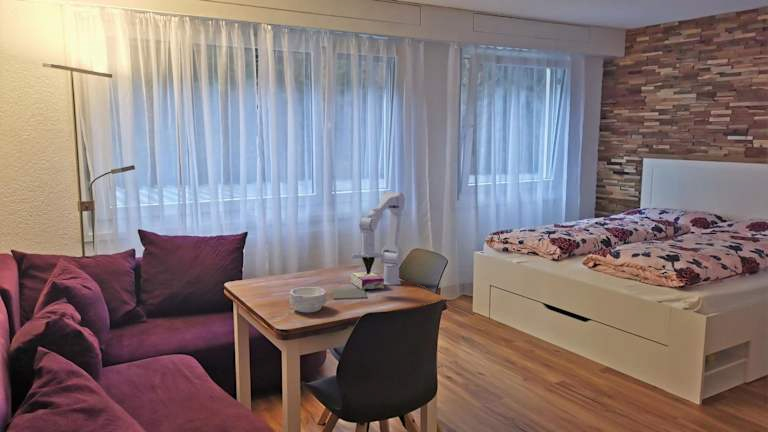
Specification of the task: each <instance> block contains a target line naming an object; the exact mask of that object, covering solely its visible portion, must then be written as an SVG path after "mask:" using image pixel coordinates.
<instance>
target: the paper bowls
mask: <svg viewBox="0 0 768 432" xmlns="http://www.w3.org/2000/svg"><path fill="white" fill-rule="evenodd" d="M327 293H328V292H327V290H326V289H325V288H323V287H316V286H303V287H302V286H301V287H296V288H293V289H290V291H289V304H290V305H291V306H292V307H294V308H295V311H297V312H299V313H305V314H307V313H315V312H318V311H320V310H321V309H322V307H323V306H324V305H326V303H327V296H328V294H327Z"/></svg>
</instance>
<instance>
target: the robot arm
mask: <svg viewBox="0 0 768 432" xmlns="http://www.w3.org/2000/svg"><path fill="white" fill-rule="evenodd" d="M405 202H406V197H405V195H404V193H403V192H389V191H383V193H382V194H381V197H380V202H379V203H378V205H377V206H376V207H373V208H372V209H371V210H370V211H369V213H368V214H366V216H365V217H364V216H363V217H362V218H361V219H360V221H359V224H358V225H359V226H358V227H359V230H360V234H361V252H360V253H352V254H351V258H352V259H353V260H354V259H362V261H363V263H364V266H365V270H366V271H365V272H367V274H370V272H372V267H373V265H374V262H375V261H376V260H375V259H376V258H377V259H378V258H379V259H380V262H381V264H382V266H383V279H384V286H391V285H393V286H394V285H401V284H402V283H401V281H400V266H401V265H402V262H403V261H404V256H403V249H402V248H401V247H400V246H399V245H398V244H399V236H400V228H401V217H402V212H403V211H404V210H405ZM386 210H389V212H390V217H389V227H388V234H387V244H386V245H385V246H383V247H382V250H381V252H376V251H375V249H376V247H375V246H376V245H375V242H376V241H375V237H376V236H375V235H376V234H375V232H376V230H377V228H378V224H379V222H380V221H381V219H382V217H383V216H384V211H386Z"/></svg>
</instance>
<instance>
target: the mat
mask: <svg viewBox="0 0 768 432" xmlns="http://www.w3.org/2000/svg"><path fill="white" fill-rule="evenodd" d="M332 296H333V300H355V299H356V300H358V299H363V300H364V299H367V298H368V296H367V294H366V291H365V290H362V289H360V288H349V289H348V288H347V289H346V288H344V289H343V288H342V289H332Z"/></svg>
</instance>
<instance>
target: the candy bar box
mask: <svg viewBox="0 0 768 432" xmlns="http://www.w3.org/2000/svg"><path fill="white" fill-rule="evenodd" d="M350 283H351V284H353V285H354V286H355V287H357V288H358V289H362V290H364V291H365V290H377V289H379V290H380V289H385V285H384V277H382V276H380V275H378V274H376V273H374V272H373V271H370V274H367V271H362V272H351V273H350Z"/></svg>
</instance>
